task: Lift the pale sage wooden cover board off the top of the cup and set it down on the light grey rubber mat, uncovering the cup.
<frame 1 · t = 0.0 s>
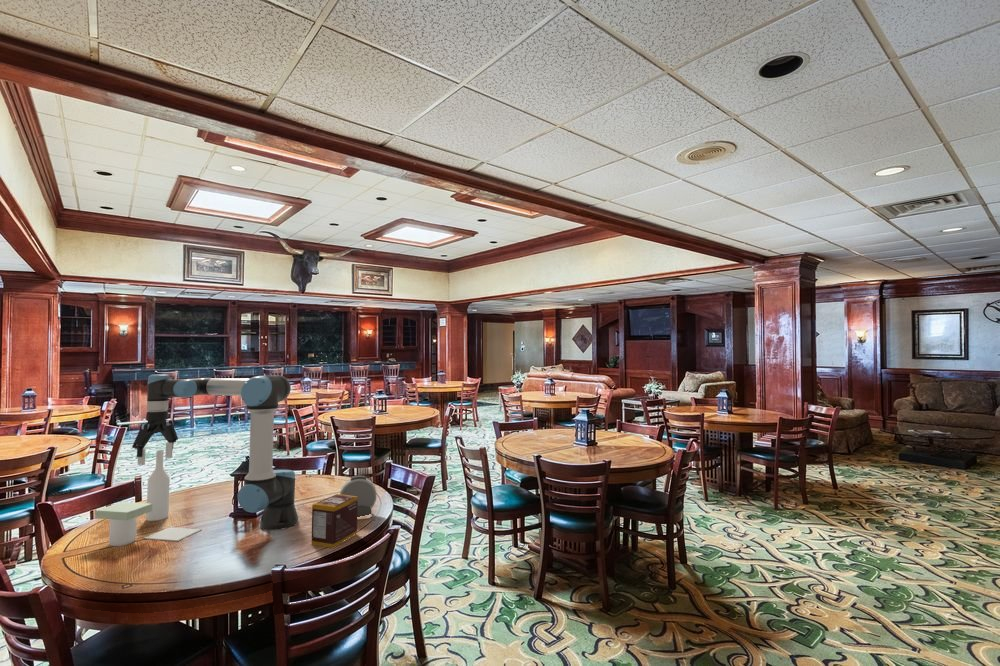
hand: (155, 461, 202), 28 cm above the table, fingers open, 13 cm apart
bottle: (157, 518, 214), on the table
cover board: (124, 514, 188), point 10 cm above the table, touching cup
supplement box: (334, 540, 190), on the table
mat: (173, 534, 194), on the table
cup: (123, 541, 188), on the table, touching cover board
alarm clock: (357, 517, 218), on the table
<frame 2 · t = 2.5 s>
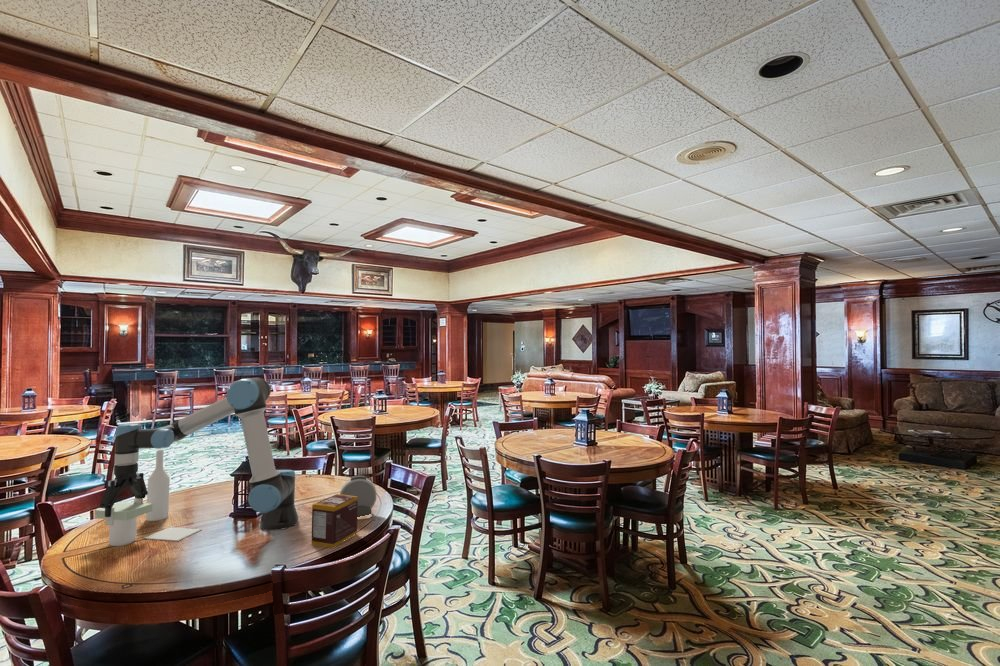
hand: (123, 519, 188), 8 cm above the table, fingers closed on cover board, 11 cm apart
cover board: (124, 514, 188), point 10 cm above the table, touching cup, gripper
cup: (123, 541, 188), on the table, touching cover board, gripper
everything else where it was.
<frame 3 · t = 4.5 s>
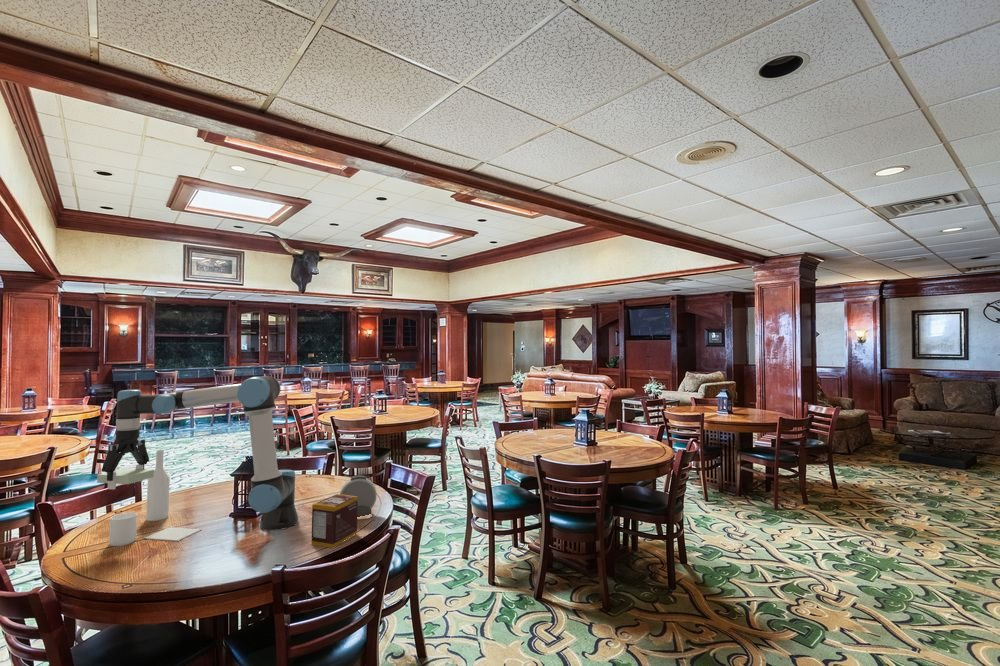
hand: (125, 485, 189), 22 cm above the table, fingers closed on cover board, 11 cm apart
cover board: (126, 479, 189), point 24 cm above the table, touching gripper
cup: (123, 541, 188), on the table
everything else where it was.
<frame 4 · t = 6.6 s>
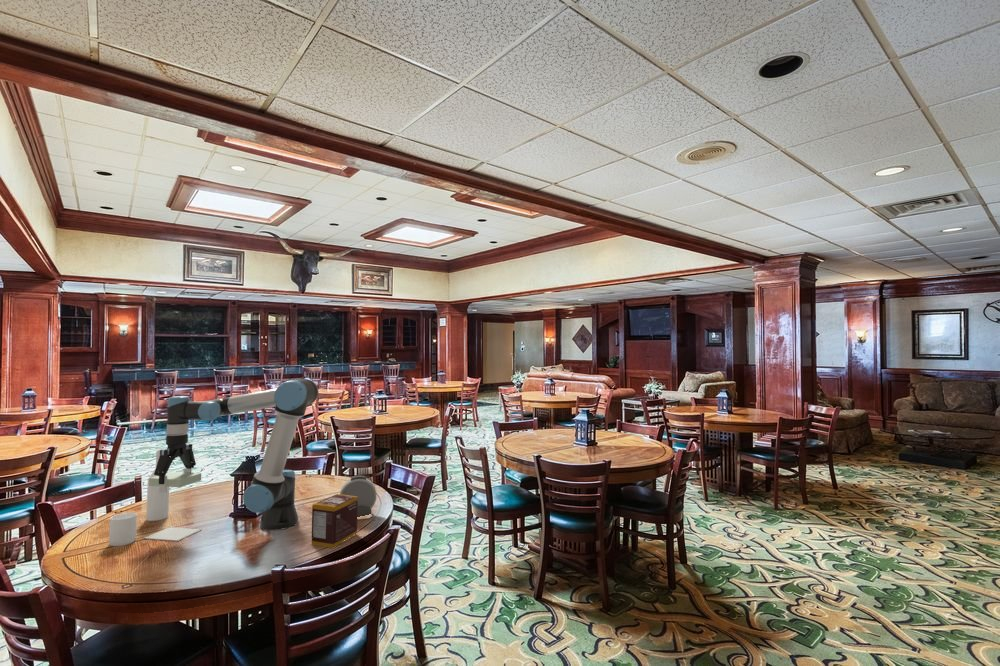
hand: (175, 488, 195), 19 cm above the table, fingers closed on cover board, 11 cm apart
cover board: (175, 483, 195), point 21 cm above the table, touching gripper
everything else where it was.
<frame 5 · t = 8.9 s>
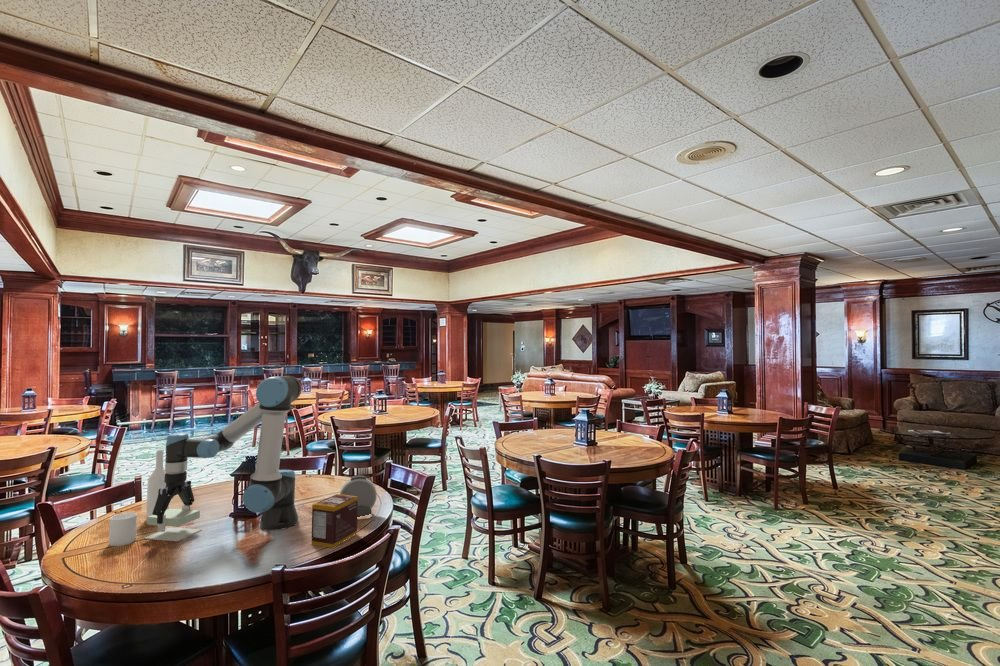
hand: (173, 526, 195), 3 cm above the table, fingers closed on cover board, 11 cm apart
cover board: (173, 521, 195), point 5 cm above the table, touching gripper
everything else where it was.
when the fingers open (1 cm above the table, at t = 10.6 s): cover board drops 3 cm, resting on mat.
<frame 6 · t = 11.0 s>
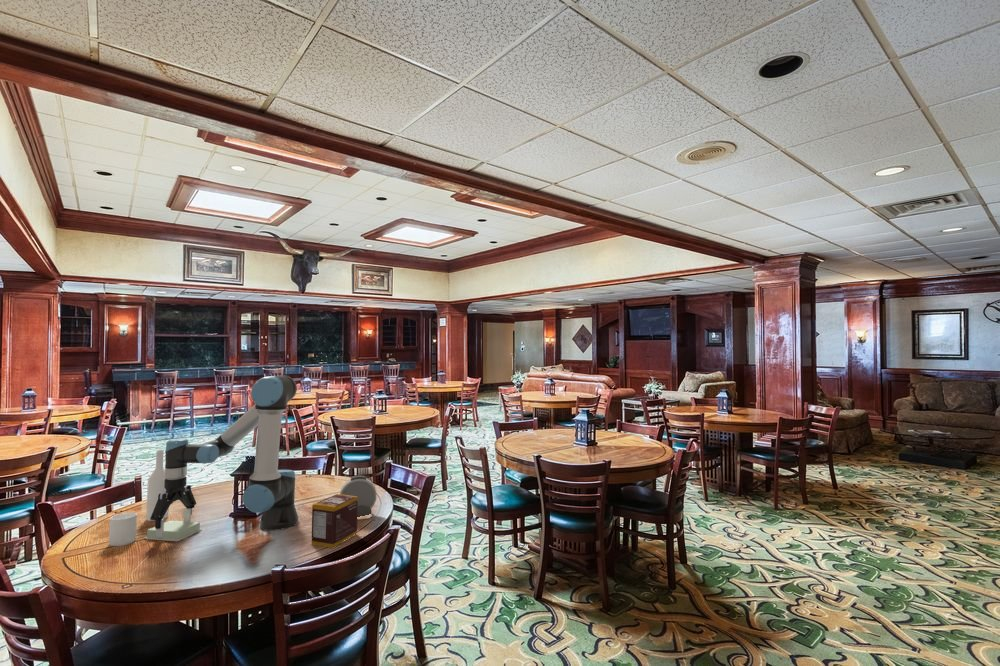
hand: (173, 530, 195), 2 cm above the table, fingers open, 13 cm apart
cover board: (173, 533, 195), resting on mat
everything else where it was.
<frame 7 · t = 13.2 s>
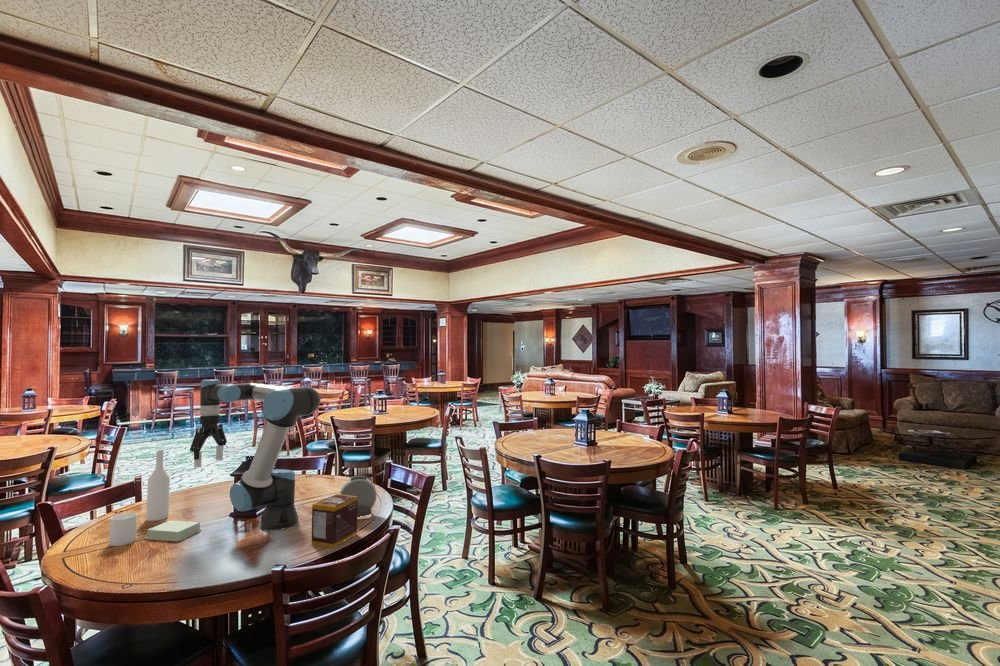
hand: (208, 463, 209), 26 cm above the table, fingers open, 13 cm apart
nothing on the table moved.
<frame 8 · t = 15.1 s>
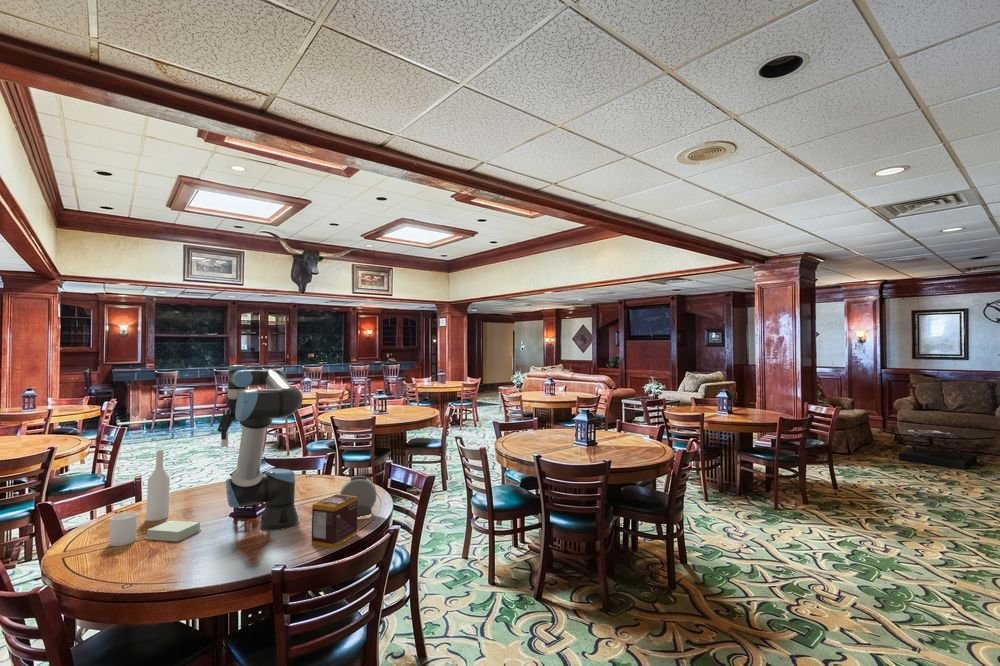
hand: (235, 443, 223), 32 cm above the table, fingers open, 13 cm apart
nothing on the table moved.
at the end: cover board inside the target area on the mat (0.1 cm from its centre), point 0.4 cm above the mat's base; cover board touching mat; cup tilted 0° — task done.
